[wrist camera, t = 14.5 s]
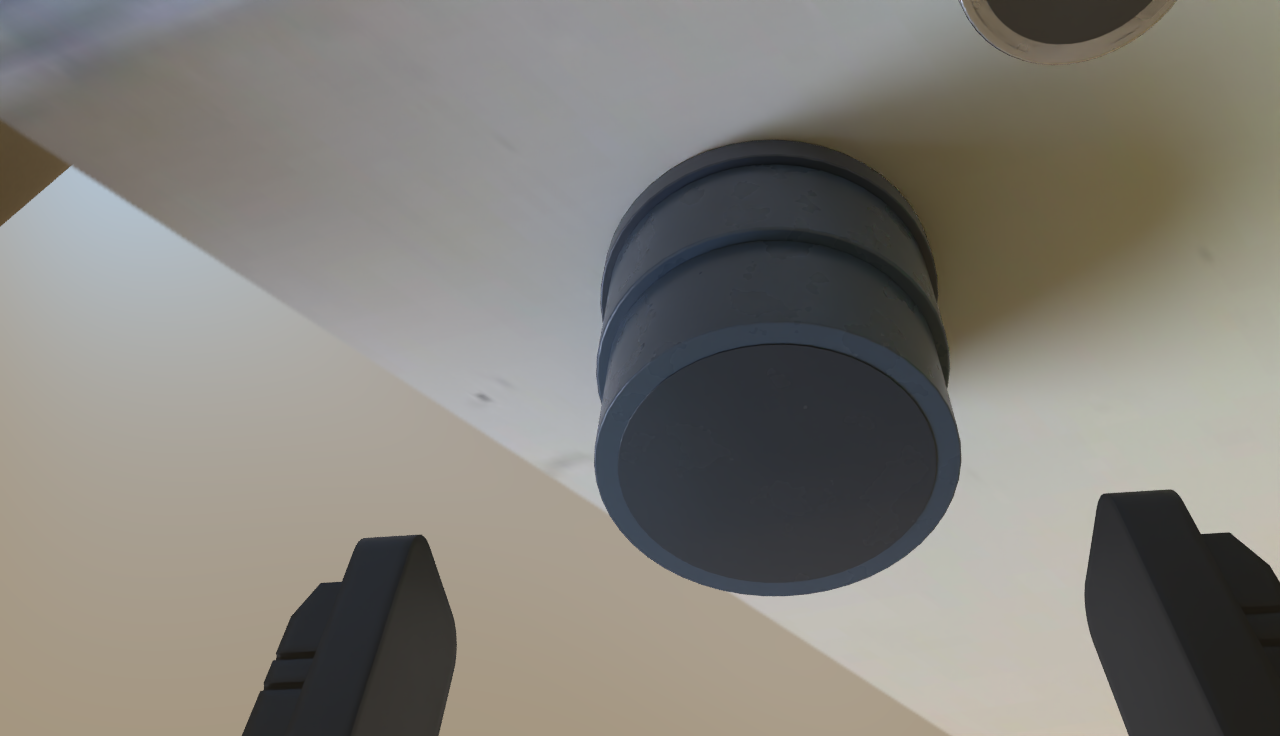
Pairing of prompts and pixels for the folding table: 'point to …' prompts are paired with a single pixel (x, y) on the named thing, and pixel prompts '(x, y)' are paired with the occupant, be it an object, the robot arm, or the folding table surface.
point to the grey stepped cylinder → (773, 373)
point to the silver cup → (1062, 26)
